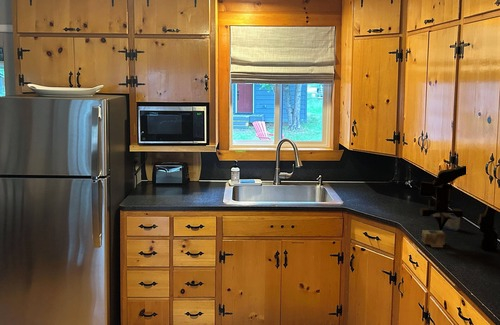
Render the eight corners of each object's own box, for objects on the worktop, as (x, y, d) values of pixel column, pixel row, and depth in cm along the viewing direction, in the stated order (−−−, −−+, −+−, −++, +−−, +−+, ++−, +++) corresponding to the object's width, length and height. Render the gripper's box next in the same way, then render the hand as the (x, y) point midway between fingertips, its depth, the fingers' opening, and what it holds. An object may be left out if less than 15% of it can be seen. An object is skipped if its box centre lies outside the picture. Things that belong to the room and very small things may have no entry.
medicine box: (440, 227, 291) (441, 211, 289) (444, 226, 294) (446, 210, 292) (455, 231, 285) (456, 214, 284) (459, 229, 288) (460, 212, 287)
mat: (437, 240, 268) (437, 239, 268) (443, 247, 259) (443, 246, 259) (426, 240, 269) (426, 239, 269) (431, 246, 259) (432, 245, 259)
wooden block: (441, 230, 265) (422, 229, 266) (445, 233, 260) (425, 233, 260) (440, 240, 266) (421, 240, 267) (444, 244, 260) (425, 244, 261)
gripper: (457, 194, 267) (455, 226, 270) (417, 193, 268) (415, 225, 271) (465, 199, 256) (462, 232, 259) (423, 198, 257) (421, 231, 260)
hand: (440, 230), depth 263 cm, fingers closed
